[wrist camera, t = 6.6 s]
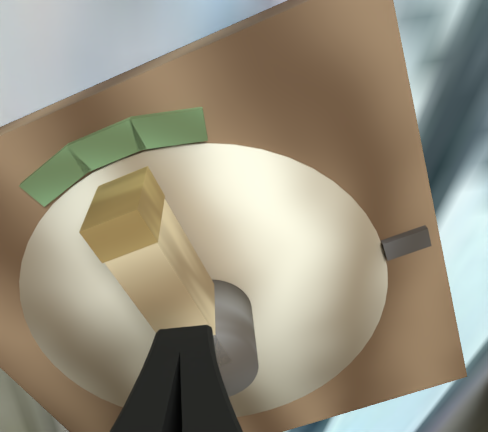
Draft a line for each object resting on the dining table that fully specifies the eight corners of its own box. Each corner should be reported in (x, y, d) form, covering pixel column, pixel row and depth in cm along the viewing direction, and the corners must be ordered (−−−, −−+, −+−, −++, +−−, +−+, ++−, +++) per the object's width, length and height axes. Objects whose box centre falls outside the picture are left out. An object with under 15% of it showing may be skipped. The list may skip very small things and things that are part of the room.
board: (125, 456, 30) (120, 484, 29) (-145, 190, 19) (-176, 214, 17) (455, 355, 27) (469, 381, 26) (371, -37, 16) (389, -33, 14)
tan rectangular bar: (263, 326, 22) (272, 384, 20) (189, 351, 23) (186, 411, 20) (171, 153, 17) (164, 198, 14) (77, 191, 18) (53, 242, 15)
